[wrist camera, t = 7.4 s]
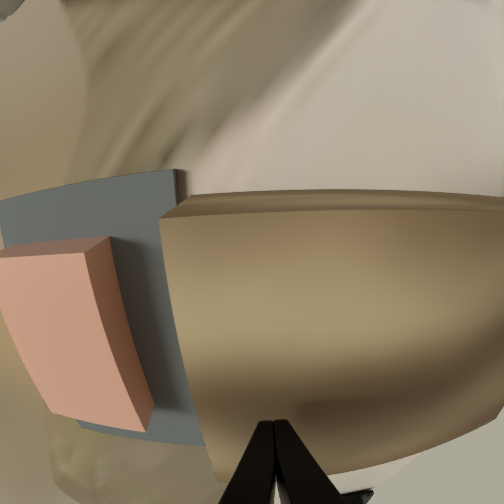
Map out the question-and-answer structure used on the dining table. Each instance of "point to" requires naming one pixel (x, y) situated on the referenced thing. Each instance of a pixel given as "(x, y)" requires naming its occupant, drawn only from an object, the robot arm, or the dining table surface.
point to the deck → (338, 318)
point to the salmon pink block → (75, 330)
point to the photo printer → (8, 8)
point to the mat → (123, 278)
